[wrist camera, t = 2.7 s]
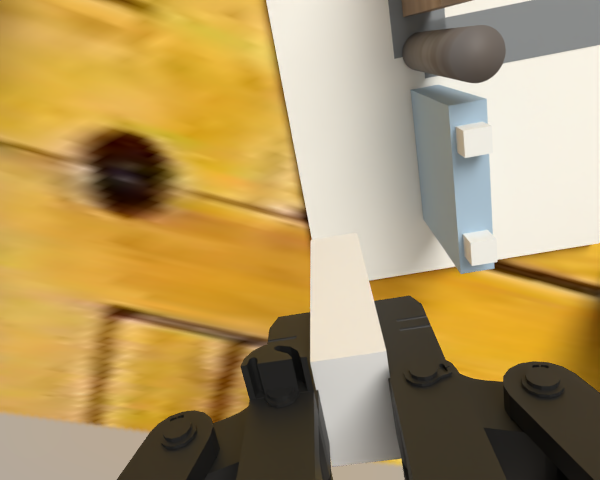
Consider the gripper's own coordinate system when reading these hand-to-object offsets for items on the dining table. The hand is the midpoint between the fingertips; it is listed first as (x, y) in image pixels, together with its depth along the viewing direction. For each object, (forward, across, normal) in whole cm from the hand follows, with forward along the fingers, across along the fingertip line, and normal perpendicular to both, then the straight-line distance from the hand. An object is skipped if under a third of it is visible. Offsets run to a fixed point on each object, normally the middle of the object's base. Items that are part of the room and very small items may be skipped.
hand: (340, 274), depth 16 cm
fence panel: (+11, +6, +1) cm, 13 cm away
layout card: (+12, +6, +4) cm, 14 cm away
